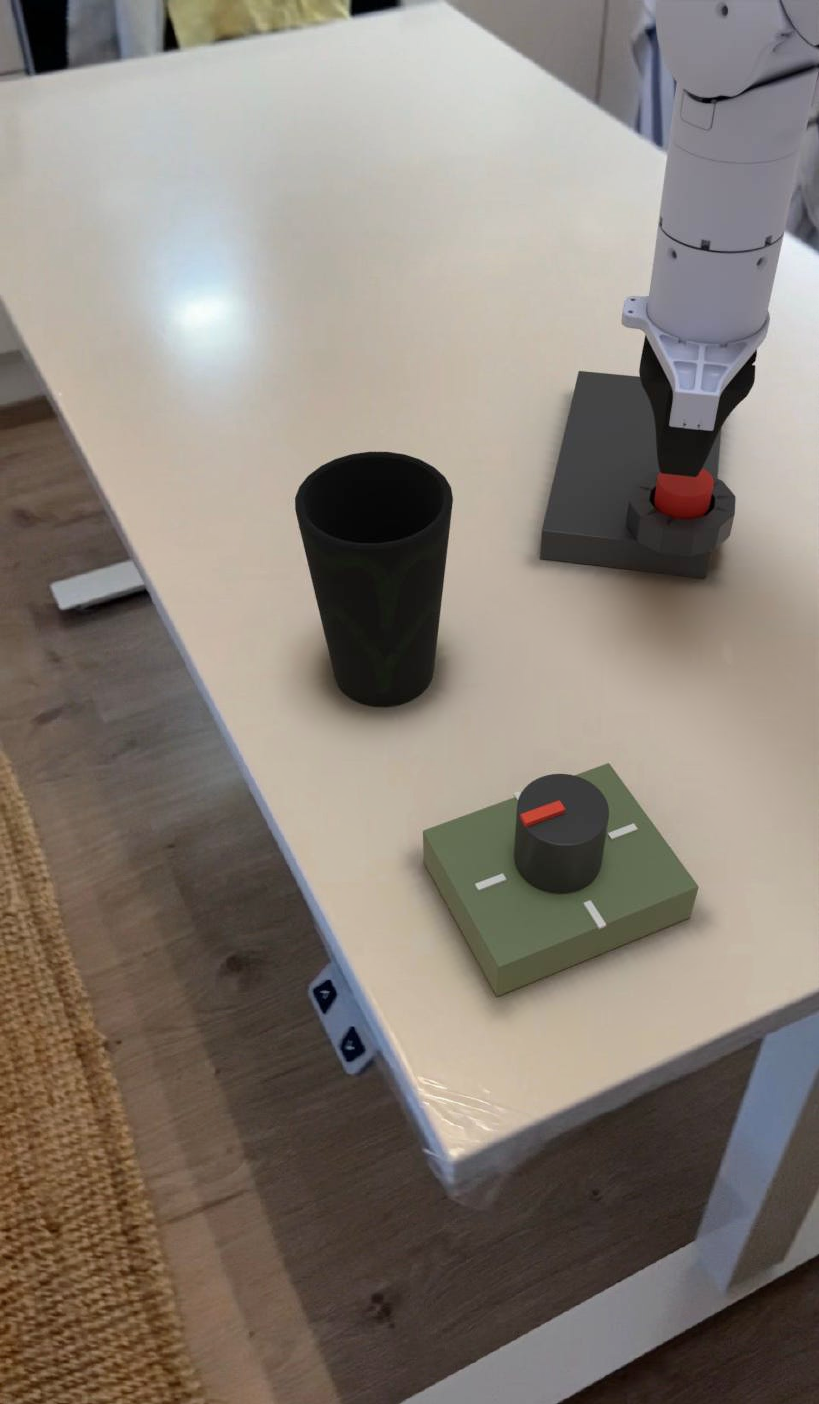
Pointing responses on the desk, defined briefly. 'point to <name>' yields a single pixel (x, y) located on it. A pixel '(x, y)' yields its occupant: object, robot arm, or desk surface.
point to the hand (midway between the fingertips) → (679, 468)
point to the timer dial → (560, 832)
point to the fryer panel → (555, 926)
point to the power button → (683, 495)
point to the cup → (377, 569)
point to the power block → (624, 488)
